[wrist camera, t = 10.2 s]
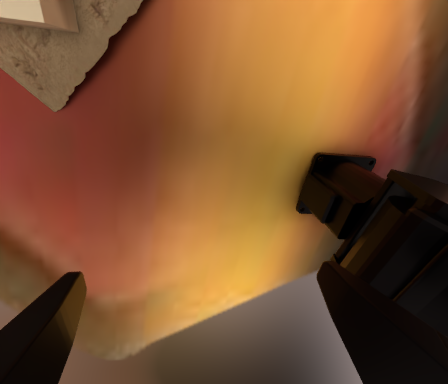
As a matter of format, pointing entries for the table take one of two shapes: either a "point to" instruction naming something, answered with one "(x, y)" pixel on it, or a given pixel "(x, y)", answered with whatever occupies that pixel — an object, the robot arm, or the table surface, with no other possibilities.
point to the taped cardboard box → (40, 14)
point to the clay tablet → (61, 49)
